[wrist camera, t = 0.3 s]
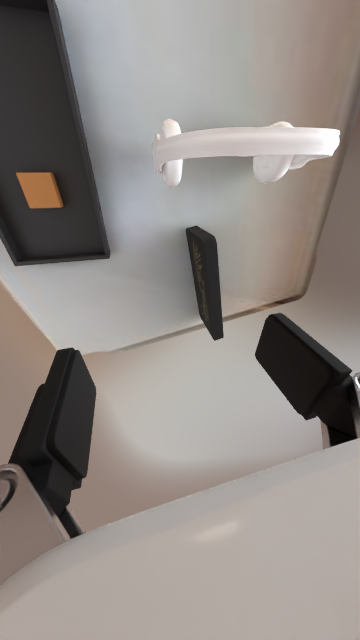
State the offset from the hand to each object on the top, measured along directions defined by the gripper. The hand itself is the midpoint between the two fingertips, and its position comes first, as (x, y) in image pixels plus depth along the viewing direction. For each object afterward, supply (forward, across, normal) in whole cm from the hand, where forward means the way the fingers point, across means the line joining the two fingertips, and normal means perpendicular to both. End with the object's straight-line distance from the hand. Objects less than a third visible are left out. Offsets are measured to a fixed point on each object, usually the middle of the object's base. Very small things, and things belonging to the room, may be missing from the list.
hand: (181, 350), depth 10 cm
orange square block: (+30, +12, -6) cm, 33 cm away
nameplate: (+31, -12, +10) cm, 34 cm away
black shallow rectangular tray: (+30, +12, -9) cm, 34 cm away
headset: (+31, -13, -10) cm, 34 cm away
